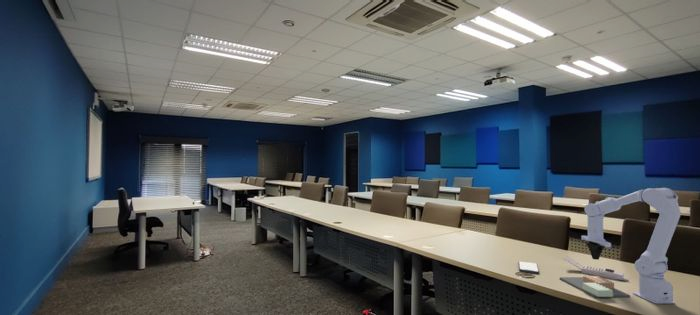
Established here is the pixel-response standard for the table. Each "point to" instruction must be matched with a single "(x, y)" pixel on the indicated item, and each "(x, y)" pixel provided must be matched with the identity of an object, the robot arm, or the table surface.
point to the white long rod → (598, 271)
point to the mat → (578, 284)
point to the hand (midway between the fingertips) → (595, 259)
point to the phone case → (528, 267)
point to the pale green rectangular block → (597, 289)
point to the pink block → (598, 281)
